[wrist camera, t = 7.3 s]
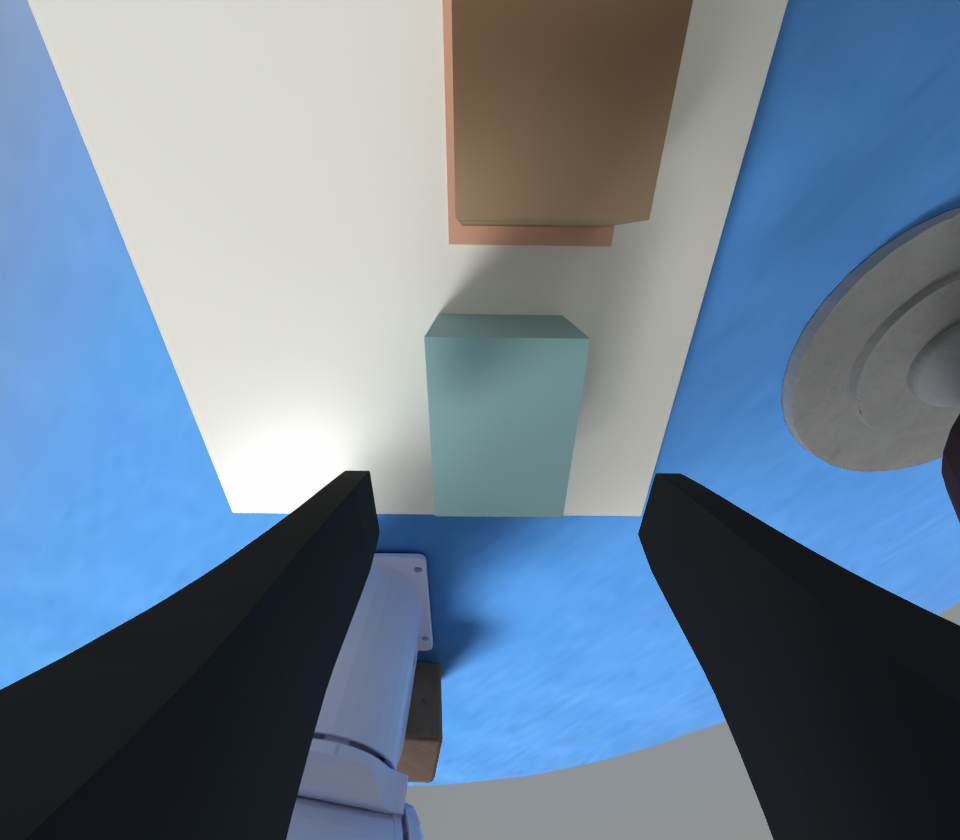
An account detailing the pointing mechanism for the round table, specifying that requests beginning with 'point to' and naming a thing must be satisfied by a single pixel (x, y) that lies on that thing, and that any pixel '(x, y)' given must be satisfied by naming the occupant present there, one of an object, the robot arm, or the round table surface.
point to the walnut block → (562, 108)
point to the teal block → (503, 412)
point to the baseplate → (379, 231)
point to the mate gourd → (885, 360)
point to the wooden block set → (423, 725)
